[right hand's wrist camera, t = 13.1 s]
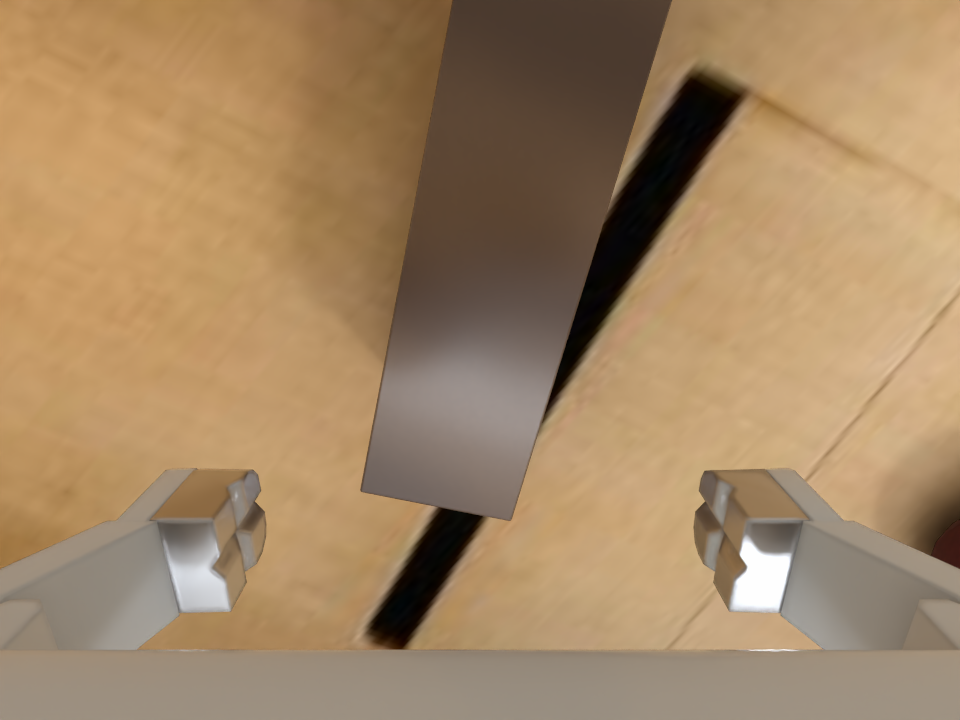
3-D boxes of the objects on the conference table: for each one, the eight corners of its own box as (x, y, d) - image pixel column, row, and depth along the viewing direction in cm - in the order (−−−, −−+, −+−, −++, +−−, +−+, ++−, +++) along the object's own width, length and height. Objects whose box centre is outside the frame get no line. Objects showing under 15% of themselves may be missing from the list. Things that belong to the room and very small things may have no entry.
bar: (500, 400, 26) (511, 522, 18) (397, 378, 26) (359, 492, 17) (687, -277, 18) (872, -647, 9) (538, -325, 17) (595, -756, 9)
